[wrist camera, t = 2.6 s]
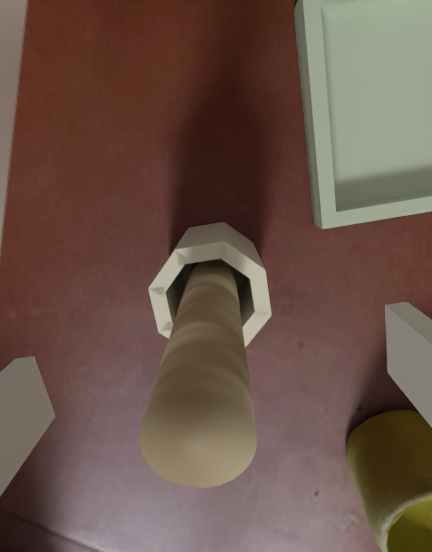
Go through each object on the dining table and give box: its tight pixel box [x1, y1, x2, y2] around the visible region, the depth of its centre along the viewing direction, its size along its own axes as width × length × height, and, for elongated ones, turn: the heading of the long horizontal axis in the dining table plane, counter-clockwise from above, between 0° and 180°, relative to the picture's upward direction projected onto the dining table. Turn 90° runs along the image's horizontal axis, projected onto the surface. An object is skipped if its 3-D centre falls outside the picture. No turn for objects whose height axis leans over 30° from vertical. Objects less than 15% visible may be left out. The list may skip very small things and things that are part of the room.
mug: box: [346, 409, 432, 552], centre depth 29 cm, size 12×10×10 cm
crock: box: [148, 222, 271, 347], centre depth 24 cm, size 7×7×8 cm
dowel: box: [139, 258, 257, 488], centre depth 18 cm, size 3×3×18 cm
